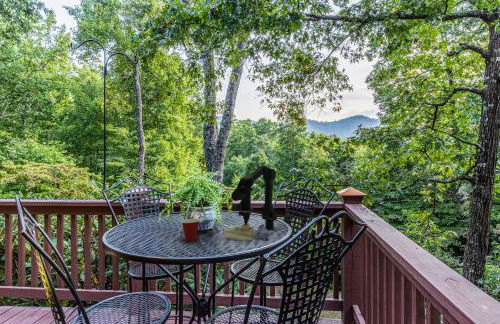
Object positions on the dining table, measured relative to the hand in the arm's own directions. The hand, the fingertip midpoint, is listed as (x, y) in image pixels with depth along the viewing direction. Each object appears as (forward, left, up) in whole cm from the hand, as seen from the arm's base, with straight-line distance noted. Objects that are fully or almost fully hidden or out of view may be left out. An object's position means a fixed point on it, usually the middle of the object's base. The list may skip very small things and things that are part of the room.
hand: (245, 224), depth 186 cm
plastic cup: (+10, -31, -8) cm, 34 cm away
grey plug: (0, -8, -7) cm, 10 cm away
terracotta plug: (0, 0, -5) cm, 5 cm away
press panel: (0, -4, -8) cm, 9 cm away
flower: (+2, +10, -8) cm, 13 cm away
